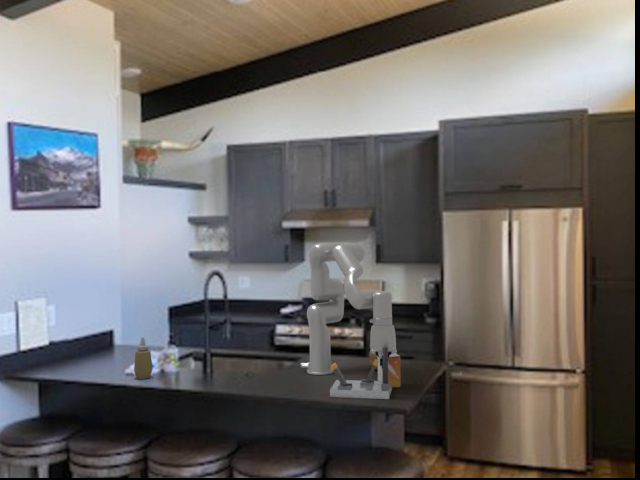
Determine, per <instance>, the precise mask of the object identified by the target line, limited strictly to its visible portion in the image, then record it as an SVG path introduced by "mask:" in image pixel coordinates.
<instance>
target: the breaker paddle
mask: <svg viewBox="0 0 640 480" xmlns="http://www.w3.org/2000/svg"><path fill="white" fill-rule="evenodd" d="M378 362H379V361H378V360H376V359H375V361H374V363H373V365H372V367H371V366H370V367H371V368H370V370H369V372H368V374H367V377H366V378H365V379H366V381H367V382H370V380H372V377H373V375H374V373H375V370H376V369H375V368H376V367H377V364H378Z"/></svg>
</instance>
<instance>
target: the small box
mask: <svg viewBox="0 0 640 480" xmlns="http://www.w3.org/2000/svg"><path fill="white" fill-rule="evenodd" d="M382 356H383V354H382ZM378 361H379V362H378V370H377V381H383V369H382V366H380V358H379V357H378ZM388 381H392V388H401V387H402V386H401V385H402V384H401V383H402V382H401V355H400V354H398V353H395V354H391V355H390V356H389V357H388Z"/></svg>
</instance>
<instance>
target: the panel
mask: <svg viewBox="0 0 640 480" xmlns="http://www.w3.org/2000/svg"><path fill="white" fill-rule="evenodd" d="M345 380H346V382H347V384H346V385H344V386H342V385H341V383H340V381H339V380H338V379H336V380H335V381H334V383H333V384H332V386H331V387H330V389H329V397H330V398H344V399H345V398H346V399H371V400H372V399H374V400H375V399H376V400H377V399H378V400H379V399H380V400H390V397H391V393H392V391H393V387H392V381H388V382H390V389H389V390H381V384H382V382H383V381H378V380H375V379H370V382H367V381H366V378H365V379H364V378H363V379H361V380H356V379H355V380H353V379H352V380H351V379H345Z"/></svg>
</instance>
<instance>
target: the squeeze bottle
mask: <svg viewBox="0 0 640 480" xmlns="http://www.w3.org/2000/svg"><path fill="white" fill-rule="evenodd" d="M133 368H134V369H133V371H134V375H135V377H136V379H139V380H146V379H149V378H151V376H152V372H153V361H152V353H151V350H149V345H147V344H146V340H145V337H141V338H140V342H139V345H138V346H137V350H136V351H135V356H134V367H133Z"/></svg>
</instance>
